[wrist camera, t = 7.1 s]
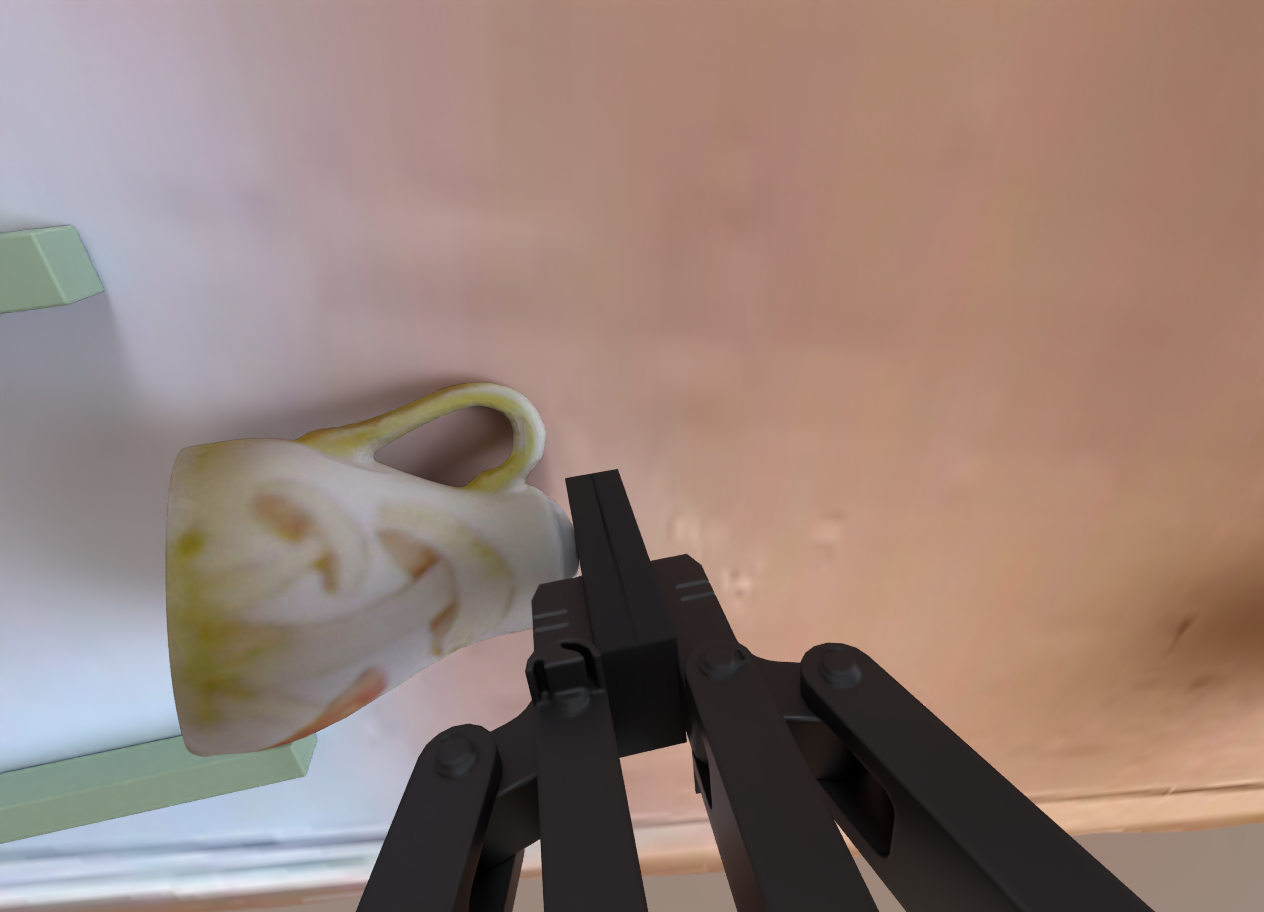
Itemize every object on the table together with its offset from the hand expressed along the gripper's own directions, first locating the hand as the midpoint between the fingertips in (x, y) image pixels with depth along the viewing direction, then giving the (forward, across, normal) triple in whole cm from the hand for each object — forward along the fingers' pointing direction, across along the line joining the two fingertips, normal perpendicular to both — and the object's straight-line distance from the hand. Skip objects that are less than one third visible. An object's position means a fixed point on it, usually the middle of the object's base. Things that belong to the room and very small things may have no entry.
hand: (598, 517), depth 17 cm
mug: (+3, -6, 0) cm, 6 cm away
